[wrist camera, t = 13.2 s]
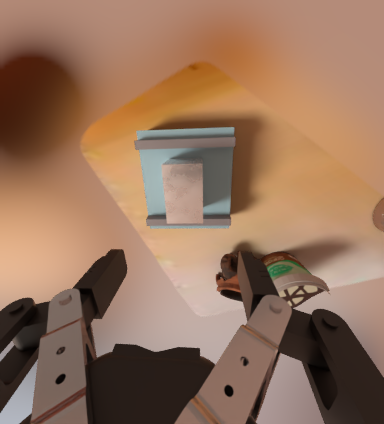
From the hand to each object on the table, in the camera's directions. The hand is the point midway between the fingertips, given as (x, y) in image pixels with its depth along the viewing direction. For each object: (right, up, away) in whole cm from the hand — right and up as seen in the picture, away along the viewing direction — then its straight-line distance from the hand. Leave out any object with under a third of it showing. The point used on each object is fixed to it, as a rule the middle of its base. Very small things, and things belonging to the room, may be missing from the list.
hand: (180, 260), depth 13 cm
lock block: (0, +8, +16) cm, 18 cm away
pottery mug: (+10, -9, +29) cm, 32 cm away
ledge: (0, +10, +21) cm, 23 cm away
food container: (+18, -7, +28) cm, 34 cm away
